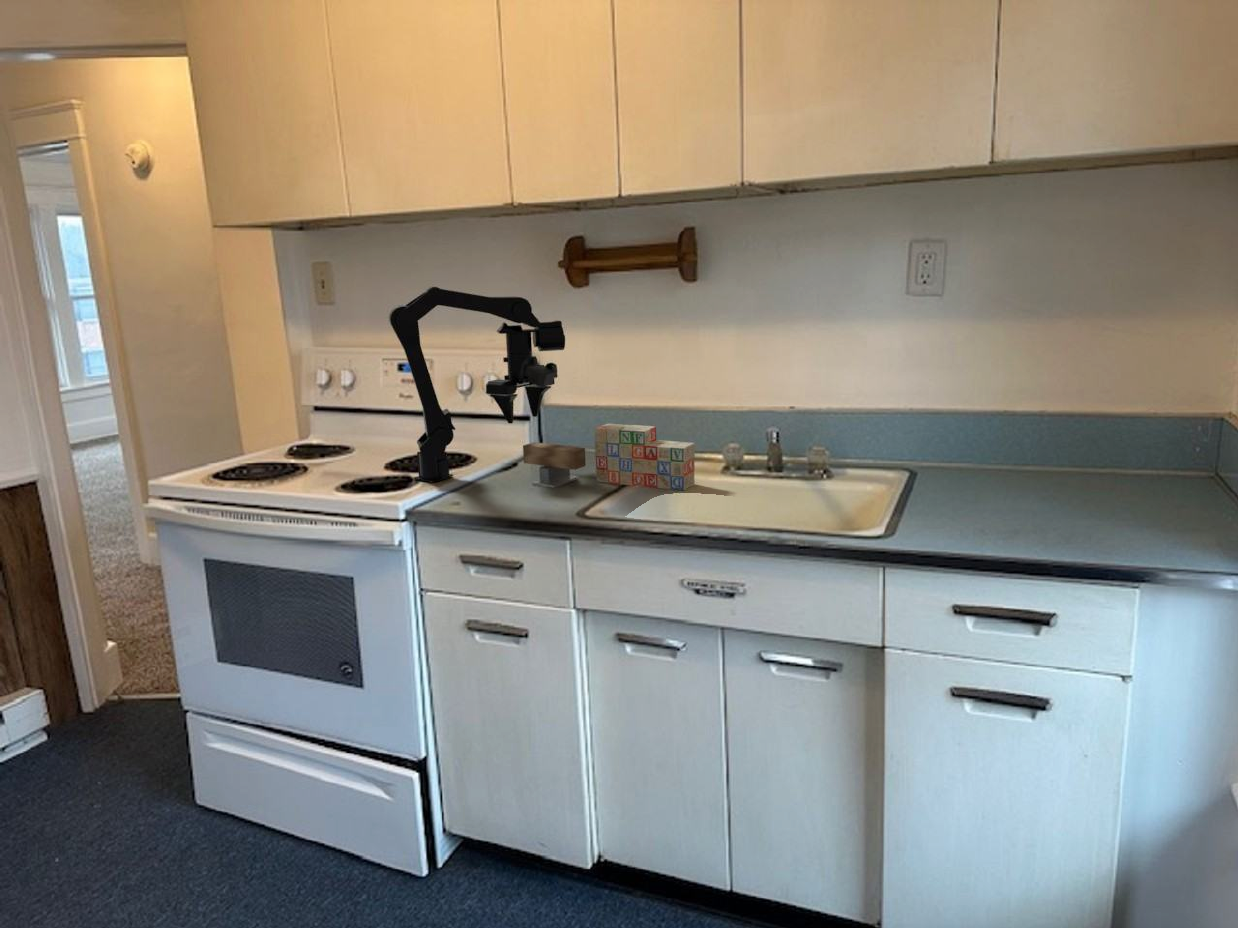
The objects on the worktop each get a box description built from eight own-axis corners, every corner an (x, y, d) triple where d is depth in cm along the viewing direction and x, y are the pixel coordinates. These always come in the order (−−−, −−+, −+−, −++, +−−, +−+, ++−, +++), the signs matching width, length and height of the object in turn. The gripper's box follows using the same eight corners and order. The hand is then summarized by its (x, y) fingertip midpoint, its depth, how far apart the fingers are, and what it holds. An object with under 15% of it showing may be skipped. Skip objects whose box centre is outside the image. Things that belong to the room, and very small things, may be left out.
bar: (523, 463, 194) (522, 445, 193) (534, 459, 197) (534, 442, 196) (575, 469, 186) (574, 451, 185) (585, 465, 189) (584, 447, 189)
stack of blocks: (695, 484, 188) (695, 428, 185) (683, 491, 182) (683, 434, 180) (608, 475, 198) (607, 422, 195) (595, 481, 192) (593, 427, 189)
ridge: (532, 485, 190) (531, 467, 189) (556, 476, 198) (555, 458, 197) (554, 488, 187) (553, 470, 186) (577, 478, 195) (577, 461, 194)
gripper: (522, 358, 186) (525, 429, 189) (571, 349, 201) (574, 415, 205) (482, 356, 192) (486, 425, 195) (533, 348, 207) (536, 412, 211)
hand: (522, 419), depth 201 cm, fingers open, 9 cm apart
